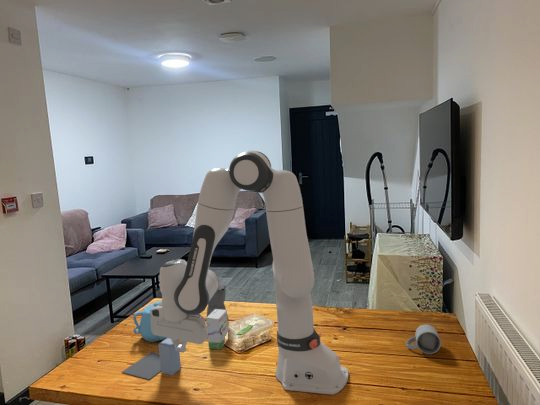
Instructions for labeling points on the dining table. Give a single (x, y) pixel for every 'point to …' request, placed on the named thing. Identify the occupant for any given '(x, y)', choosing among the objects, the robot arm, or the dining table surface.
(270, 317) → the dining table surface
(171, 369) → the block
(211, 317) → the ink box
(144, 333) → the decorative pot
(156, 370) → the mat
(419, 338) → the ceramic mug
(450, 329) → the dining table surface
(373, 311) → the dining table surface
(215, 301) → the coffeepot
